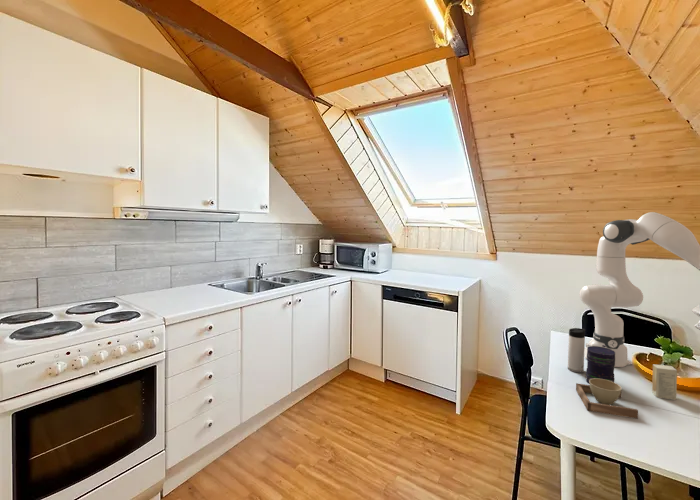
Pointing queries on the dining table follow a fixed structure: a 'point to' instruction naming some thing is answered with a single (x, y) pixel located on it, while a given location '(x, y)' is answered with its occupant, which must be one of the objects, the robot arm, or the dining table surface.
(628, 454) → the dining table surface
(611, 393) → the beige bowl
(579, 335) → the travel mug
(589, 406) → the frame
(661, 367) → the skincare box
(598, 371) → the storage jar
